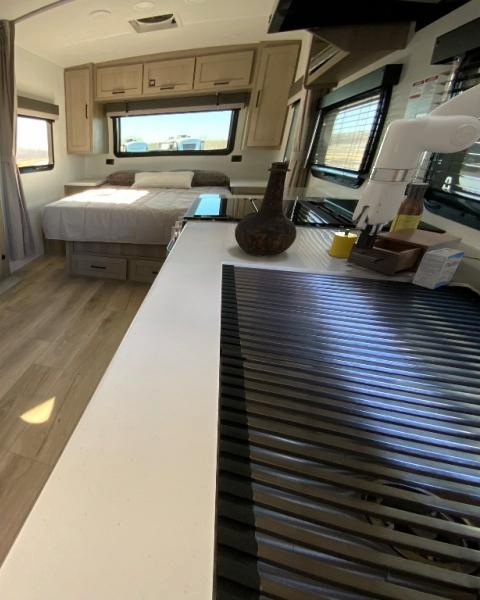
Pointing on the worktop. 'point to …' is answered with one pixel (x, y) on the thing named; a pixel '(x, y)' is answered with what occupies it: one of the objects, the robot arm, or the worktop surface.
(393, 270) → the drawer
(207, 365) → the worktop surface
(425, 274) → the medicine box
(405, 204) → the sauce bottle
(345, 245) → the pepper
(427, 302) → the worktop surface
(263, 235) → the glass bottle
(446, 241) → the cabinet
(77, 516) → the worktop surface
